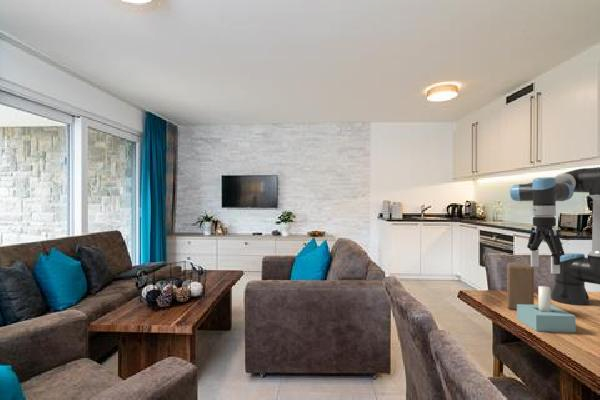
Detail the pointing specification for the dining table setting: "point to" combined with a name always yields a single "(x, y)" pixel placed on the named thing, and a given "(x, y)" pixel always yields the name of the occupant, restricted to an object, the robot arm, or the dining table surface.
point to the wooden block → (520, 284)
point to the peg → (544, 299)
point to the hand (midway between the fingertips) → (544, 269)
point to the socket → (546, 318)
